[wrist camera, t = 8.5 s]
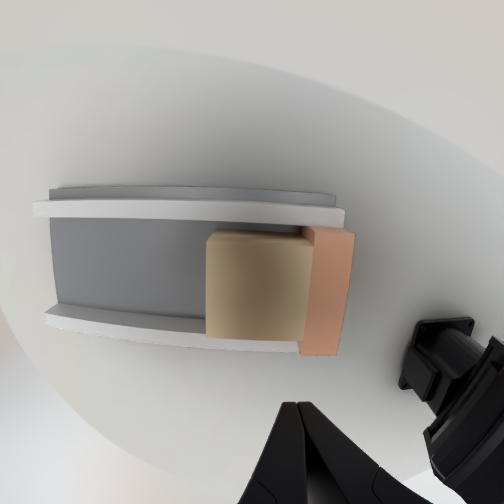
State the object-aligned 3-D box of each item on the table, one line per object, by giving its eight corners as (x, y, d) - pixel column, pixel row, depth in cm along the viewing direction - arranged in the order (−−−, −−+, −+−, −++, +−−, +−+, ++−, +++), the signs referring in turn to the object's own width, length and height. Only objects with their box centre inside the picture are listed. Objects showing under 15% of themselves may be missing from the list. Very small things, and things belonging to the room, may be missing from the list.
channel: (331, 194, 18) (358, 198, 14) (315, 338, 21) (331, 379, 16) (56, 188, 18) (13, 193, 13) (67, 318, 20) (34, 347, 15)
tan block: (300, 233, 18) (313, 246, 14) (293, 310, 19) (302, 341, 15) (215, 228, 18) (206, 241, 14) (214, 307, 19) (205, 337, 15)
